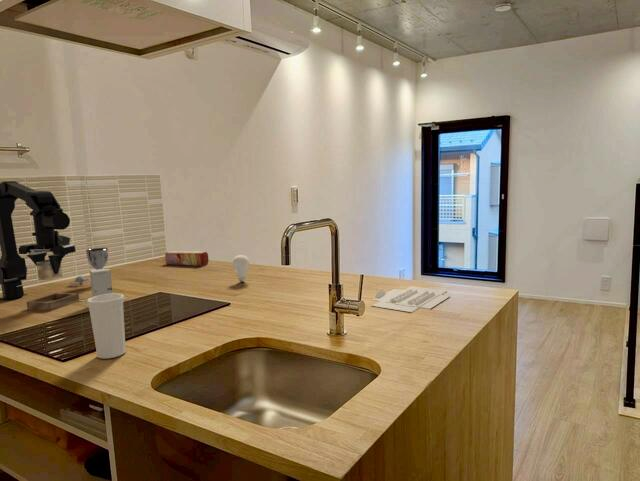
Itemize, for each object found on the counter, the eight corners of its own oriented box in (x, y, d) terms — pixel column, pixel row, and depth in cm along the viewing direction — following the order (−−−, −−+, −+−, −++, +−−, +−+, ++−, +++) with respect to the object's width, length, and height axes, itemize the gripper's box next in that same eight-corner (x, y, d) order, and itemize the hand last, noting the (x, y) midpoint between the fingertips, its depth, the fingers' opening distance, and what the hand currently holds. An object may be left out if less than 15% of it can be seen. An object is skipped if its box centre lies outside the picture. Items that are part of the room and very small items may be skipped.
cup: (96, 364, 103) (89, 304, 101) (90, 354, 110) (83, 297, 108) (133, 355, 108) (127, 297, 106) (125, 345, 114) (119, 291, 112)
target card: (69, 300, 161) (69, 299, 161) (88, 294, 170) (87, 293, 170) (82, 301, 160) (82, 300, 159) (101, 294, 168) (101, 293, 168)
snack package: (164, 265, 223) (162, 251, 222) (173, 262, 229) (172, 248, 228) (201, 267, 214) (200, 252, 213) (210, 264, 220) (209, 250, 219)
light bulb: (247, 284, 176) (245, 256, 174) (231, 284, 177) (229, 256, 175) (252, 280, 182) (251, 253, 180) (237, 280, 183) (235, 253, 182)
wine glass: (85, 287, 180) (81, 250, 178) (100, 282, 188) (96, 247, 186) (101, 288, 178) (96, 251, 176) (116, 283, 185) (112, 247, 183)
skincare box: (94, 307, 151) (90, 272, 149) (92, 304, 154) (89, 270, 153) (114, 304, 154) (110, 269, 152) (112, 301, 158) (108, 267, 156)
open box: (27, 309, 152) (26, 302, 151) (56, 299, 163) (55, 292, 163) (51, 310, 149) (50, 303, 149) (79, 300, 161) (78, 293, 160)
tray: (457, 294, 152) (457, 283, 151) (422, 320, 130) (422, 308, 130) (402, 287, 164) (401, 277, 164) (362, 310, 142) (361, 299, 142)
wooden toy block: (38, 279, 153) (36, 262, 152) (50, 276, 158) (48, 259, 157) (50, 280, 152) (48, 262, 151) (62, 276, 157) (60, 259, 156)
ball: (73, 285, 183) (72, 276, 183) (80, 283, 186) (79, 275, 186) (81, 285, 182) (80, 277, 182) (87, 283, 185) (86, 275, 185)
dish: (67, 287, 182) (66, 282, 182) (80, 283, 189) (79, 278, 188) (81, 288, 180) (80, 282, 180) (94, 283, 187) (93, 278, 186)
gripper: (85, 225, 158) (90, 269, 160) (42, 226, 162) (47, 268, 165) (59, 229, 147) (65, 276, 149) (14, 230, 152) (20, 275, 154)
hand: (50, 273), depth 155 cm, fingers closed on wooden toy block, 5 cm apart
